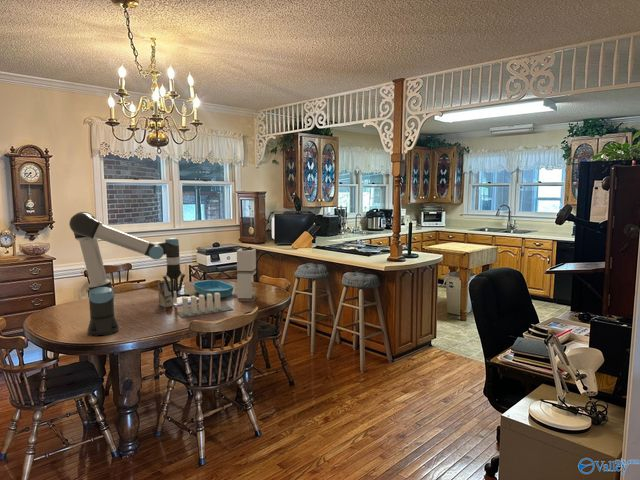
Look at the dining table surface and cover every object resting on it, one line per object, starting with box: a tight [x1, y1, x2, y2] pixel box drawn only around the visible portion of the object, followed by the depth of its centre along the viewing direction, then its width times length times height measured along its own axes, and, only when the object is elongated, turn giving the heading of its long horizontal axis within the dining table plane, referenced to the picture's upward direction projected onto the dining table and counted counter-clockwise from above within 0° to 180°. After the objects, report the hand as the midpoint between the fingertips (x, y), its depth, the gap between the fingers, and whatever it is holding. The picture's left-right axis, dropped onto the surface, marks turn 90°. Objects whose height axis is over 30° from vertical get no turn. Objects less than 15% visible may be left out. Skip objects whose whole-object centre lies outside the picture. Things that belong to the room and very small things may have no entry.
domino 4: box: [206, 294, 214, 311], centre depth 267 cm, size 2×5×10 cm, turn 31°
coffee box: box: [157, 279, 175, 308], centre depth 280 cm, size 9×6×16 cm
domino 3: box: [198, 294, 206, 312], centre depth 265 cm, size 2×5×10 cm, turn 31°
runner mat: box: [176, 304, 234, 319], centre depth 267 cm, size 32×12×1 cm, turn 121°
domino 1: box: [181, 296, 189, 315], centre depth 260 cm, size 2×5×10 cm, turn 31°
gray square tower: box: [236, 247, 257, 302], centre depth 295 cm, size 11×11×35 cm
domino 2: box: [190, 295, 198, 314], centre depth 262 cm, size 2×5×10 cm, turn 31°
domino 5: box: [214, 292, 222, 310], centre depth 270 cm, size 2×5×10 cm, turn 31°
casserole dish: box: [192, 279, 235, 300], centre depth 311 cm, size 37×22×7 cm, turn 40°
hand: (175, 302), depth 256 cm, fingers closed
